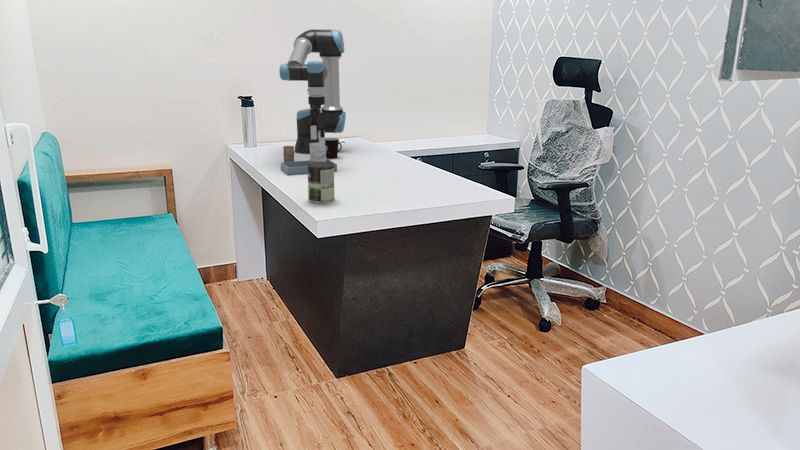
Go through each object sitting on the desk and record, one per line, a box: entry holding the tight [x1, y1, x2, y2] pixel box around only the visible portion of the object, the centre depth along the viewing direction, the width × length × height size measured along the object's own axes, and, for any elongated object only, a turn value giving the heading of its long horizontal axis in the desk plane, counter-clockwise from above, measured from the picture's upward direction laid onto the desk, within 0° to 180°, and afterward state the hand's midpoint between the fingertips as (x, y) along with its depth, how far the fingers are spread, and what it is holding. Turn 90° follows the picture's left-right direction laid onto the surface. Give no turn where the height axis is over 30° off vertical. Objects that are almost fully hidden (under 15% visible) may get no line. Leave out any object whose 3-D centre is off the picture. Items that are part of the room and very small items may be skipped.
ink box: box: [309, 143, 326, 163], centre depth 283 cm, size 9×5×12 cm, turn 33°
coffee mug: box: [324, 137, 343, 160], centre depth 312 cm, size 12×9×10 cm
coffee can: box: [307, 162, 335, 204], centre depth 229 cm, size 10×10×14 cm
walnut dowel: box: [283, 145, 295, 162], centre depth 294 cm, size 5×5×9 cm
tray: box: [280, 159, 338, 176], centre depth 282 cm, size 14×24×4 cm, turn 114°
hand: (317, 141), depth 281 cm, fingers open, 13 cm apart
